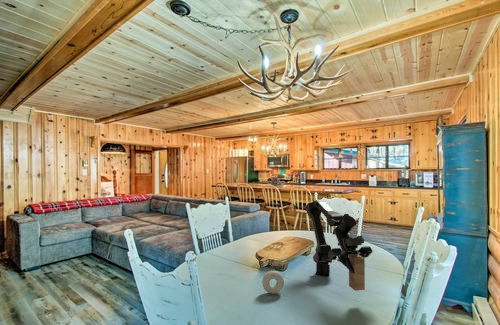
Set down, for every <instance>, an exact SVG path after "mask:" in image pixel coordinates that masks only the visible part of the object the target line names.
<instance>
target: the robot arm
mask: <svg viewBox="0 0 500 325" xmlns="http://www.w3.org/2000/svg"><path fill="white" fill-rule="evenodd" d="M305 210H306V213H307V216H308V217H309V218H310V220H311V223H312V227H313V232H314V236H315V241H316V246H315V253H314V254H313V256H312V259H313V262H315V265H316V270H315V275H317V276H324V277H329V276H330V272H331V271H330V270H331V269H330V268H331V267H330V264H331V263H332V262H333V261H334V260H337V262H339V263H341V264H342V265H343V266H344V267H345V268H346V269H347V270H348V271H349V270H350V271H351V272H352V273H354V270H353V267H352V265H351V263H350V260H349V255H360V256H362V257H363V258H365V259H366V258H368V257H369V256H371V254H372V253H373V252H374V251H373V249H372V247H371V246H367V245H365V246H363V245H362V244H364V243H365V238H364V237H363V235H357V236H356V237H352V236H350V234H349V233H351V232H352V231H353V229H354V228H355V227H356V226H357V220H356V219H355V218H354V217H353V216H351V215H350V214H349V213H344V214H341V213H340V212H337V211H334V210H333V209H332V208H331V207H330V206H329V205H328V204H327V203H326V202H325V200H323V199H315V200H313V201H312V202H309V203H307V204H306V205H305ZM322 214H323V216H324V217H325V218H326V223H327V225H328V226H329V227H333V231H332V235H334V236H335V237H336V240H337V246H338V247H336V248H334V247H333V248H332V246H331V244H328V243H327V241H326V238H325V236H326V235H325V233H324V229H323V228H324V227H323V224H322V220H321V215H322ZM334 227H335V228H334ZM359 246H361V247H359ZM358 248H359V249H358Z"/></svg>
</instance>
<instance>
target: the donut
mask: <svg viewBox="0 0 500 325" xmlns="http://www.w3.org/2000/svg"><path fill="white" fill-rule="evenodd" d="M272 280H275V281H276V283H275V284H274V285H271V282H270V281H272ZM261 283H262V287H263V290H264V291H265V292H267V293H269V294H271V295H274V294H278V293H280V292H281V291H282V290H283V288H284V285H285V280H284V277H283V275H282V274H281V273H280V272H279V271H276V270H269V271H268V272H266V273H265V274H264V275H263V277H262V282H261Z"/></svg>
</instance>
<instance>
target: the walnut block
mask: <svg viewBox="0 0 500 325" xmlns="http://www.w3.org/2000/svg"><path fill="white" fill-rule="evenodd" d="M365 259H366V258H363V257H362V256H360V255H349V260H350V263H351V265H352V267H353V270H354V273H352V272H351V271H350V270H349V269H348V286H349V287H350V288H351V289H352V290H354V291H355V292H356V291H358V292H359V291H365V290H366V289H365V288H366V285H365V284H366V283H365V279H366V276H365V275H366V271H365V266H366V265H365V264H366V260H365Z"/></svg>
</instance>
